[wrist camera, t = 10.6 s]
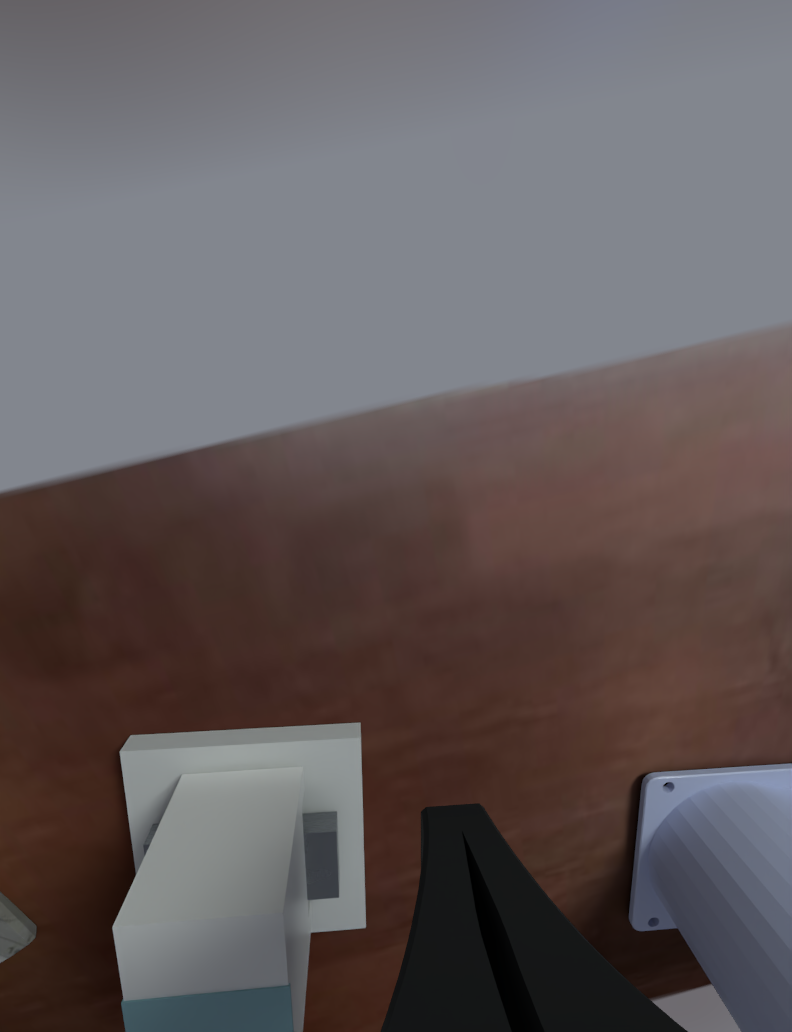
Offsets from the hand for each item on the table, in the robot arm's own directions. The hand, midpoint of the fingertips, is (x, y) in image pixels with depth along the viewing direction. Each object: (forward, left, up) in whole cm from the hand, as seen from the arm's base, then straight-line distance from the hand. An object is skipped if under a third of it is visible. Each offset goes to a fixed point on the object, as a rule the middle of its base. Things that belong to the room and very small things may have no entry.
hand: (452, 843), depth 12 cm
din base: (+7, +8, -9) cm, 14 cm away
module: (+6, +7, -8) cm, 13 cm away
